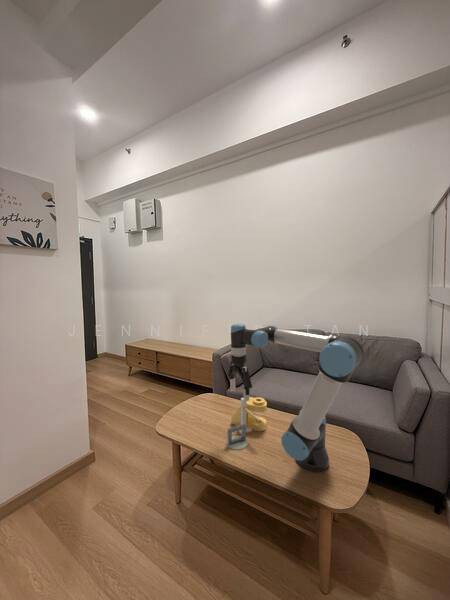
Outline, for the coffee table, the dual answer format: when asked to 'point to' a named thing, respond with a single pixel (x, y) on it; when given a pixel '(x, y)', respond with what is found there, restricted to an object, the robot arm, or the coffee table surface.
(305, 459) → the robot arm
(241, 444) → the coaster
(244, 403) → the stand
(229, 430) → the link
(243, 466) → the coffee table surface
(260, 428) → the clamp
